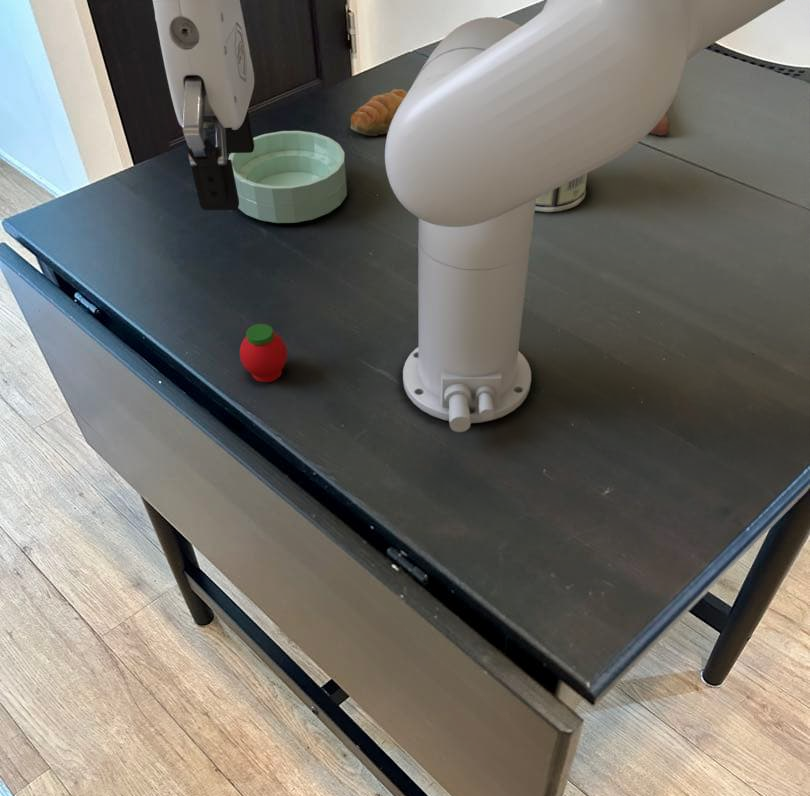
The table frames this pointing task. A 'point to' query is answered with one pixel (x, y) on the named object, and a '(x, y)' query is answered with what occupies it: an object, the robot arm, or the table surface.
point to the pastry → (377, 113)
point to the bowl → (290, 177)
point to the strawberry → (263, 353)
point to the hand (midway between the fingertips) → (229, 178)
